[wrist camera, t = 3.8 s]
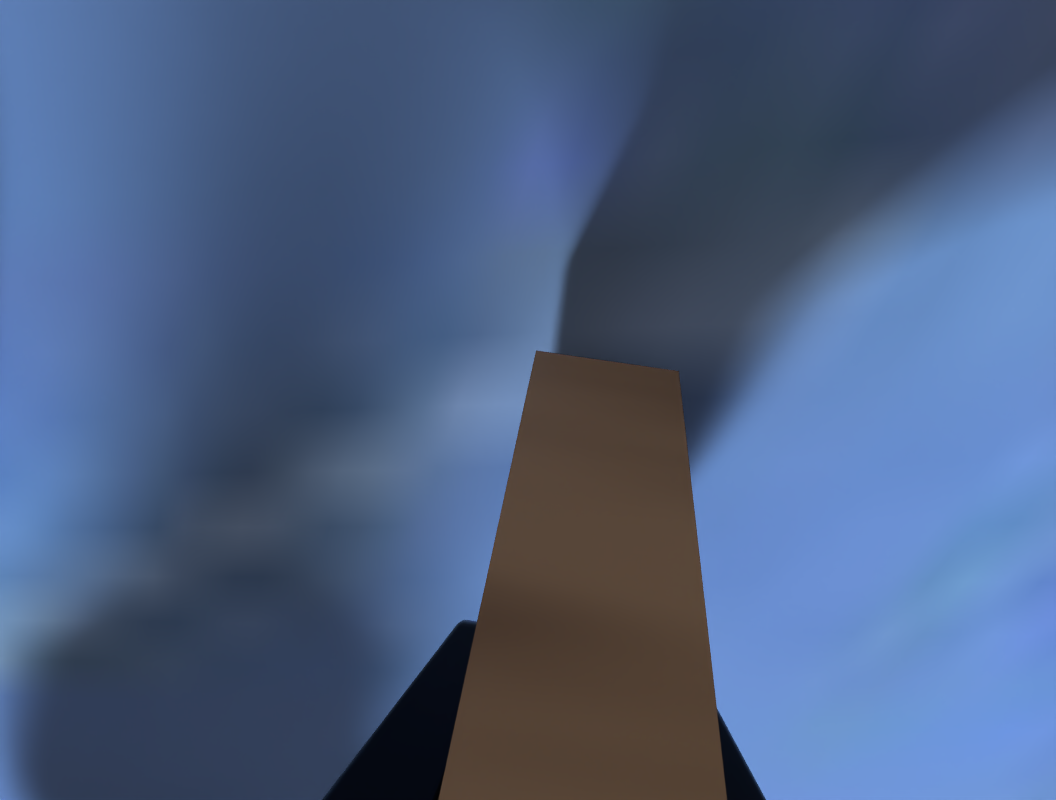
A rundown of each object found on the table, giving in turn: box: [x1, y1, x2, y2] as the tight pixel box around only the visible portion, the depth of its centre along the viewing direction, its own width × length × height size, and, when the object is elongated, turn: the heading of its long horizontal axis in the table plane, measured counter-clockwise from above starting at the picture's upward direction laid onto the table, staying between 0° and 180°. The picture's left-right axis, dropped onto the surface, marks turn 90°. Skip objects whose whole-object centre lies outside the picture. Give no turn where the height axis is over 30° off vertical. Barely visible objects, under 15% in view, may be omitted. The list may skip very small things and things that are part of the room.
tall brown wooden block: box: [439, 351, 727, 800], centre depth 8 cm, size 5×2×9 cm, turn 174°
